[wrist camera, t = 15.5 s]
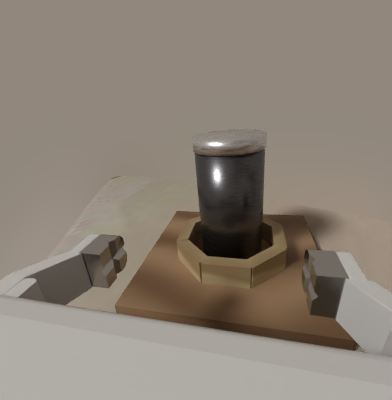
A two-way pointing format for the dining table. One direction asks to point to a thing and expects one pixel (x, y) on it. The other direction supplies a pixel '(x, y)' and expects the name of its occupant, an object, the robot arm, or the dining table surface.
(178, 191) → the dining table surface
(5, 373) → the robot arm
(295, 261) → the mount
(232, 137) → the canister
